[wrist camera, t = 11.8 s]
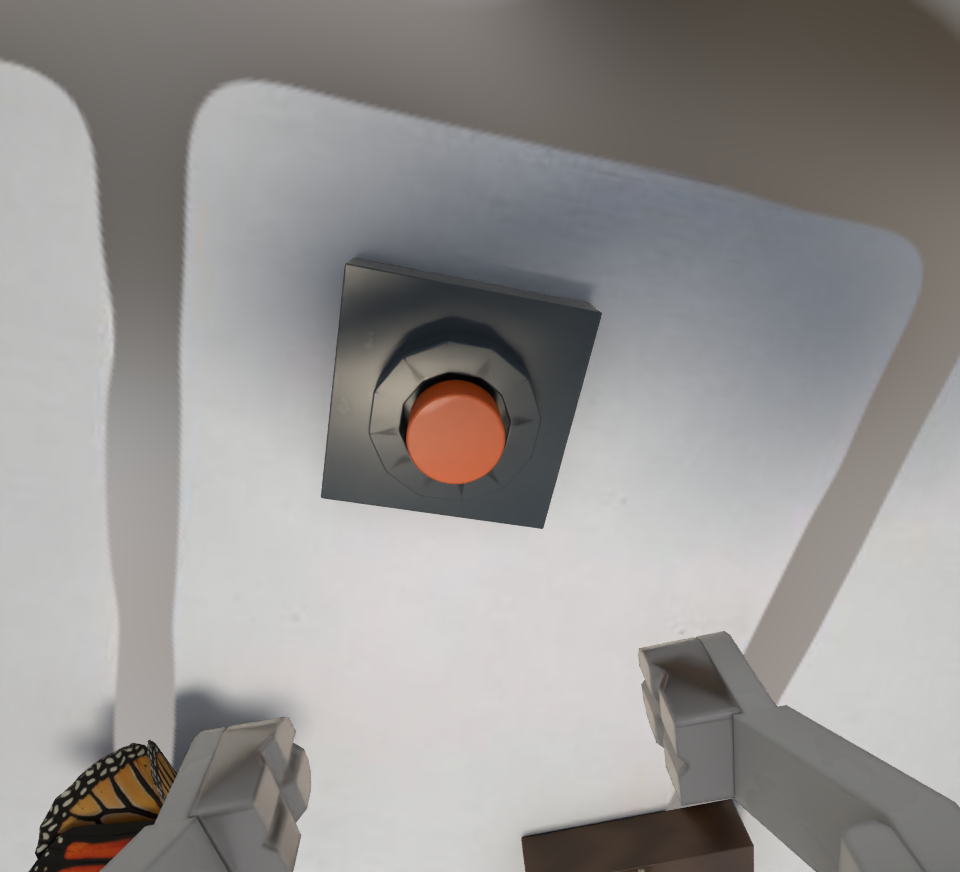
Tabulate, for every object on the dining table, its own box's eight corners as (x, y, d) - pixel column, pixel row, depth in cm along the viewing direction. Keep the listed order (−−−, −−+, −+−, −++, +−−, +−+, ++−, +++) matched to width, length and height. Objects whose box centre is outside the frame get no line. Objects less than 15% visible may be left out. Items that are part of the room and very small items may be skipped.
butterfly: (121, 836, 36) (10, 1058, 27) (43, 725, 32) (-118, 940, 23) (312, 798, 35) (266, 1010, 26) (256, 682, 32) (179, 881, 22)
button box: (589, 302, 25) (615, 322, 21) (536, 505, 28) (549, 552, 25) (353, 257, 23) (336, 269, 20) (329, 475, 27) (311, 519, 23)
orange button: (509, 387, 22) (515, 402, 20) (491, 471, 23) (494, 491, 22) (416, 371, 22) (414, 385, 20) (402, 457, 23) (399, 477, 21)
